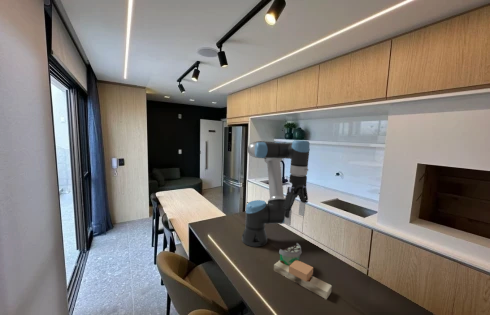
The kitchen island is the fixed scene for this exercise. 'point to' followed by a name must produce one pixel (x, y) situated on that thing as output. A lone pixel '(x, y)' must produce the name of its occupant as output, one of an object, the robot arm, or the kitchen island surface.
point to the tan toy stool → (301, 270)
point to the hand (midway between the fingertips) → (294, 219)
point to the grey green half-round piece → (290, 254)
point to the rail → (312, 285)
